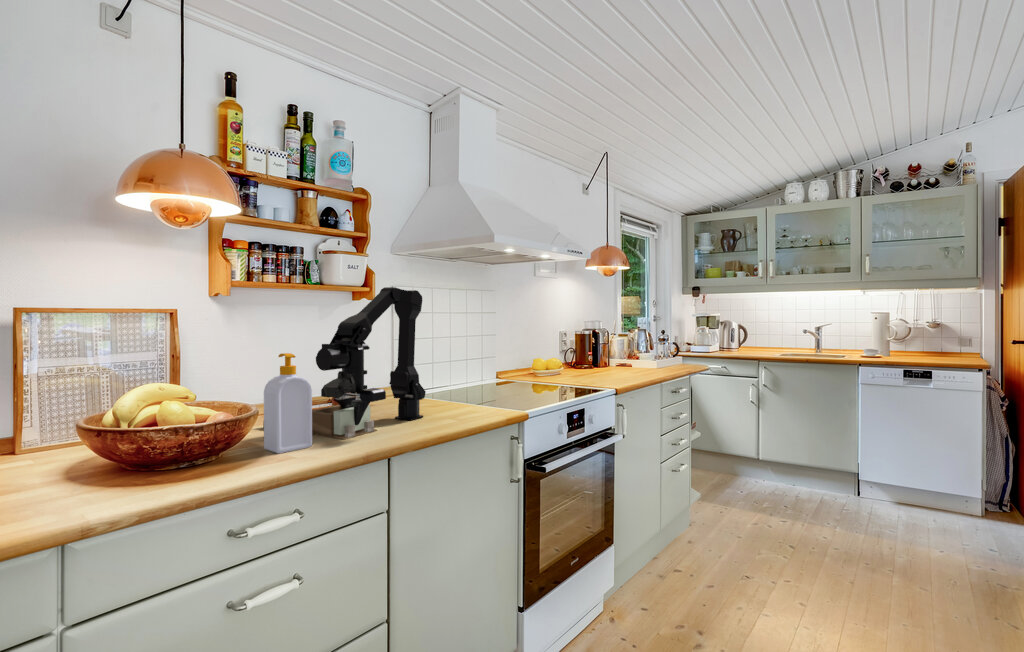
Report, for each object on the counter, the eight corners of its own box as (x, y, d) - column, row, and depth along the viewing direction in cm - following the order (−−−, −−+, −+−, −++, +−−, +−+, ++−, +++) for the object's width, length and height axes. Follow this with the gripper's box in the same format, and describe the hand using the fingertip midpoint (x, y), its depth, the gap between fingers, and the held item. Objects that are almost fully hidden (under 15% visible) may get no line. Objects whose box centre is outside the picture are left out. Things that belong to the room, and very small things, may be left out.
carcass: (340, 425, 154) (340, 404, 154) (377, 430, 148) (377, 409, 148) (307, 433, 144) (307, 411, 144) (344, 439, 137) (344, 416, 137)
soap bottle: (297, 442, 134) (297, 351, 133) (312, 446, 130) (312, 353, 129) (262, 449, 127) (261, 353, 126) (276, 454, 123) (276, 355, 122)
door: (364, 425, 149) (363, 404, 149) (370, 426, 148) (370, 405, 148) (333, 433, 140) (333, 411, 139) (340, 435, 138) (340, 412, 138)
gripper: (304, 368, 141) (305, 426, 141) (356, 372, 132) (356, 434, 132) (336, 364, 151) (337, 419, 151) (387, 368, 142) (387, 426, 142)
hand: (353, 424), depth 144 cm, fingers closed on door, 2 cm apart
